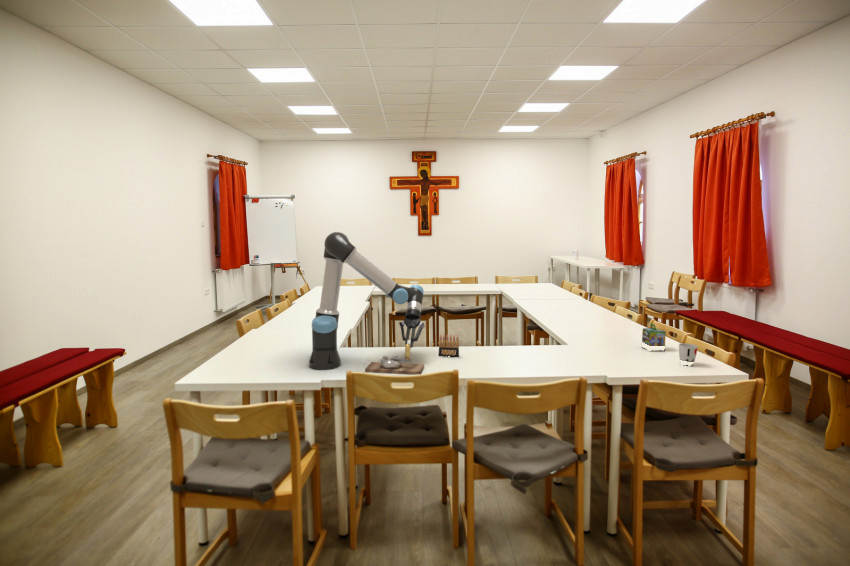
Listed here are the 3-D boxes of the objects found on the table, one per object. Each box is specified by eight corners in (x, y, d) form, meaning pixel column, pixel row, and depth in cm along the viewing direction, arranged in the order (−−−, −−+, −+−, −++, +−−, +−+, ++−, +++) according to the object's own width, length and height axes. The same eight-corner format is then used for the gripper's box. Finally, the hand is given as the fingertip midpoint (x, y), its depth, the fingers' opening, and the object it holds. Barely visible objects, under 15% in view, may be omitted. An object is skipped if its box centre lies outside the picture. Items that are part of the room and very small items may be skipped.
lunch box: (665, 351, 263) (667, 325, 261) (648, 351, 262) (650, 325, 261) (656, 347, 272) (658, 322, 270) (640, 347, 272) (642, 322, 270)
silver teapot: (378, 368, 221) (378, 345, 220) (383, 362, 231) (383, 340, 230) (408, 370, 219) (408, 347, 218) (411, 363, 229) (412, 342, 228)
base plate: (365, 372, 221) (364, 368, 221) (371, 364, 233) (371, 361, 233) (420, 375, 217) (420, 371, 217) (424, 367, 229) (424, 364, 229)
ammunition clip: (438, 356, 248) (438, 334, 247) (438, 355, 250) (439, 333, 249) (458, 357, 247) (459, 335, 245) (459, 356, 249) (459, 334, 247)
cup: (685, 367, 233) (686, 347, 232) (673, 362, 241) (675, 343, 240) (699, 366, 234) (701, 347, 233) (688, 362, 242) (689, 343, 241)
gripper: (426, 316, 244) (422, 357, 229) (401, 315, 245) (395, 356, 231) (425, 308, 238) (420, 349, 224) (400, 307, 240) (393, 348, 225)
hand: (407, 352), depth 227 cm, fingers closed
